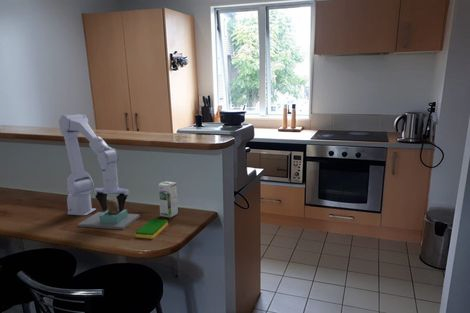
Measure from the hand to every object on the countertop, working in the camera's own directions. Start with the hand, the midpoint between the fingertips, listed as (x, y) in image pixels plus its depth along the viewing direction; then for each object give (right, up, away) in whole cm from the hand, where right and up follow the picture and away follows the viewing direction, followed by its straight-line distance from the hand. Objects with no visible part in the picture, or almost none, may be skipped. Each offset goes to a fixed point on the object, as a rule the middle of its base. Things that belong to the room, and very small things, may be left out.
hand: (113, 210), depth 143 cm
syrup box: (+22, -3, +8) cm, 23 cm away
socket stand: (-2, -5, +1) cm, 5 cm away
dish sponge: (+19, -7, -9) cm, 22 cm away
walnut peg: (0, -4, +1) cm, 4 cm away
